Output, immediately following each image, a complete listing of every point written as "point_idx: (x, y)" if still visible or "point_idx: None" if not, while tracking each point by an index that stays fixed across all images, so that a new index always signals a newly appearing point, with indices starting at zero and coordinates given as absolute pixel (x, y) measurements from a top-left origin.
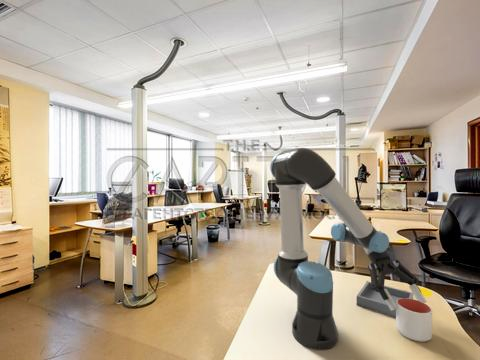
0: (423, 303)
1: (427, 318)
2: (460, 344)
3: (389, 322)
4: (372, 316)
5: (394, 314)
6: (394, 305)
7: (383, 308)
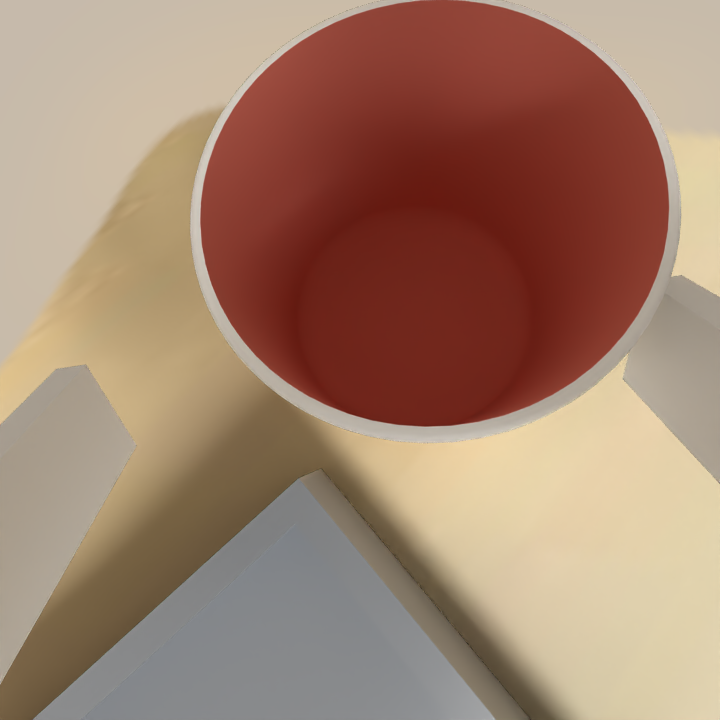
0: (203, 244)
1: (400, 56)
2: (188, 189)
3: (496, 489)
4: (603, 613)
5: (392, 562)
6: (703, 292)
7: (467, 663)
